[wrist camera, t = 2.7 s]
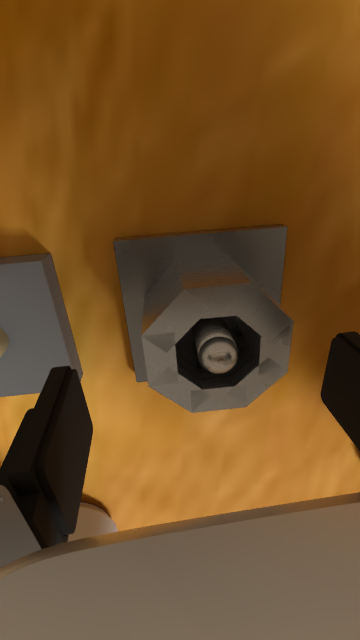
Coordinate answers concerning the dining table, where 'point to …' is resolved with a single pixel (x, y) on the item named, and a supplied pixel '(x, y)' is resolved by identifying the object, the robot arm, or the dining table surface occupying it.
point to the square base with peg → (32, 325)
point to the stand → (162, 250)
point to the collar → (248, 331)
